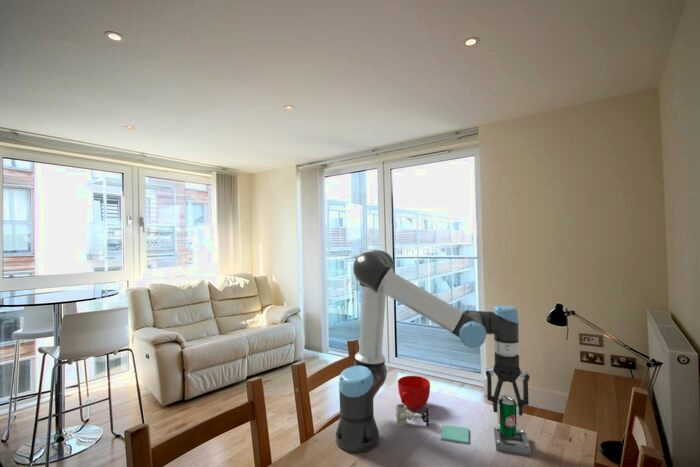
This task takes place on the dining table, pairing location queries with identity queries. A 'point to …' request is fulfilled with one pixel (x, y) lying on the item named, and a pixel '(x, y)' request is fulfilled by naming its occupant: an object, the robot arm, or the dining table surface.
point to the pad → (455, 434)
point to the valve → (409, 415)
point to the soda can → (507, 416)
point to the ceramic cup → (414, 391)
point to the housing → (512, 447)
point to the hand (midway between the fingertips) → (507, 422)
